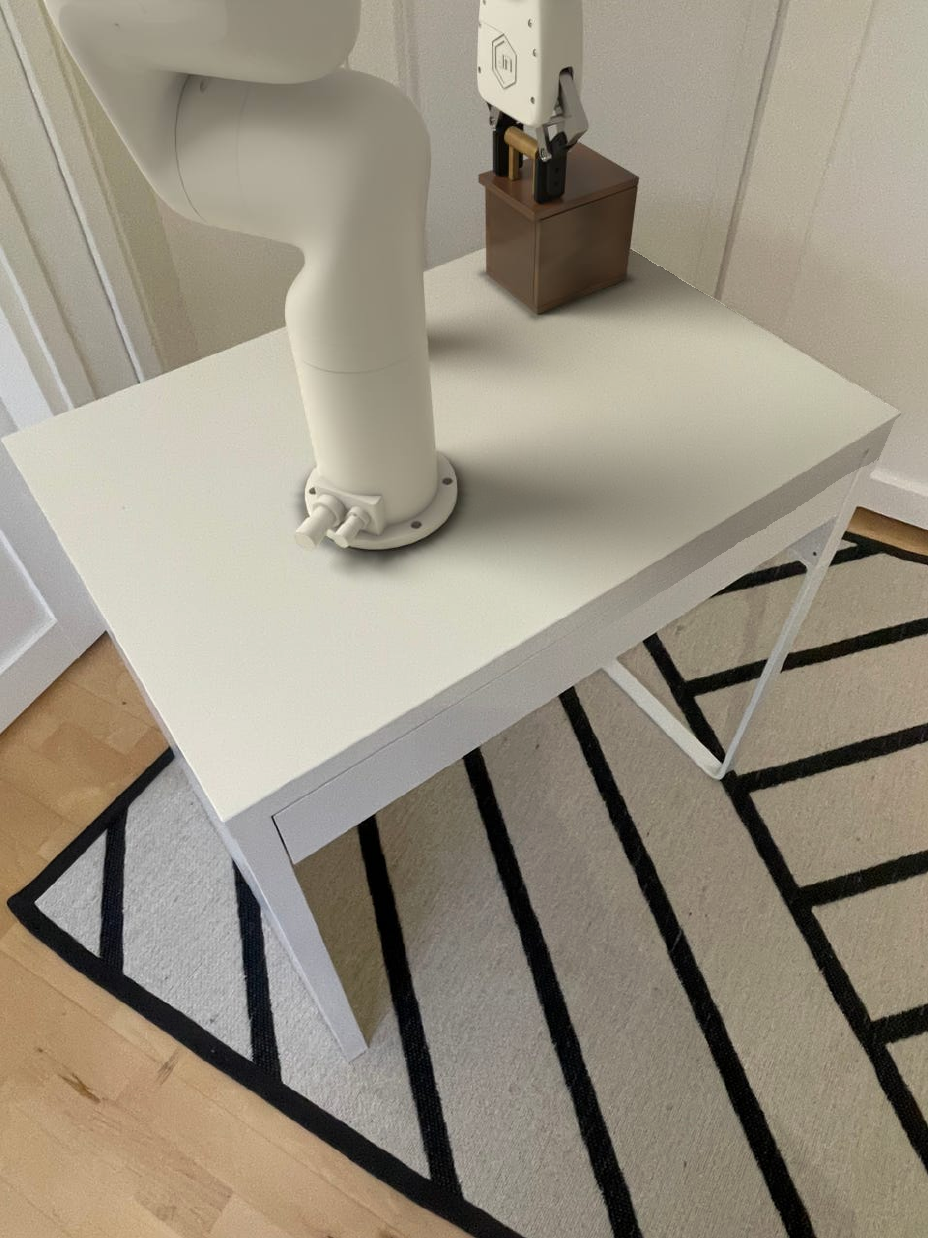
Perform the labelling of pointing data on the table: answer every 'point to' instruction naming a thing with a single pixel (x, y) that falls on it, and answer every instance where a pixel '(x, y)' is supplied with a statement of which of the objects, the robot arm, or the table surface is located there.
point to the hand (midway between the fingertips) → (528, 182)
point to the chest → (559, 249)
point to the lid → (583, 181)
